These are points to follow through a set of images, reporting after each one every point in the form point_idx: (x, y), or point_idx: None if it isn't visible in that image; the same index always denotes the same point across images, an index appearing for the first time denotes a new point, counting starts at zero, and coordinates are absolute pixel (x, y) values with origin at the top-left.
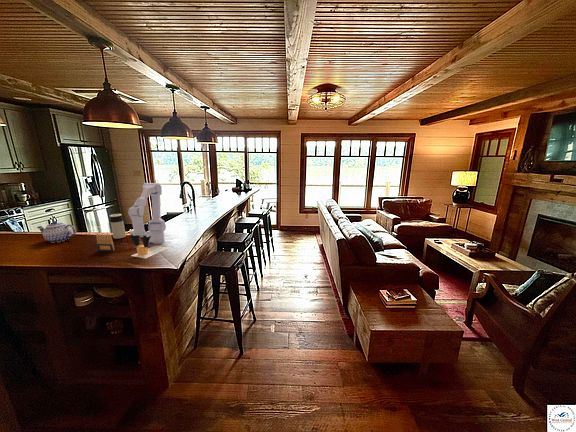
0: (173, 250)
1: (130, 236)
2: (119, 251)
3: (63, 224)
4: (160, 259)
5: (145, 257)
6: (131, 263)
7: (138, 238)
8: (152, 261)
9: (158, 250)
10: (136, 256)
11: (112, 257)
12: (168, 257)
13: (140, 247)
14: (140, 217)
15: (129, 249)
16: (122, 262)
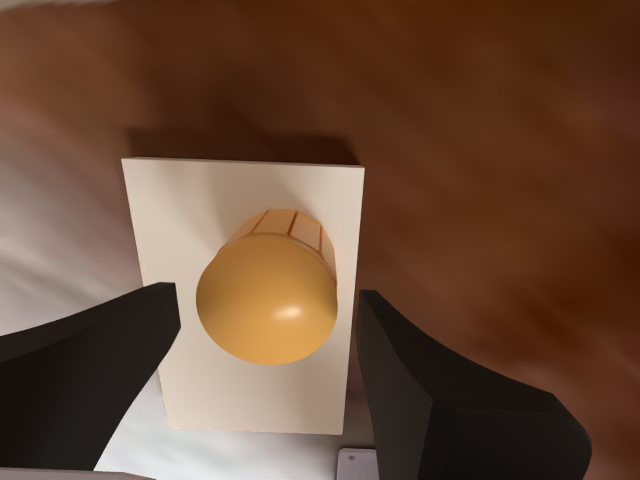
0: (130, 408)
1: (515, 425)
2: (636, 260)
3: None
4: (35, 228)
5: (148, 181)
6: (220, 42)
7: (378, 448)
8: (57, 165)
9: (200, 359)
10: (277, 171)
11: (596, 108)
12: (15, 286)
13: (234, 264)
14: None
15: (562, 325)
16: (351, 28)
